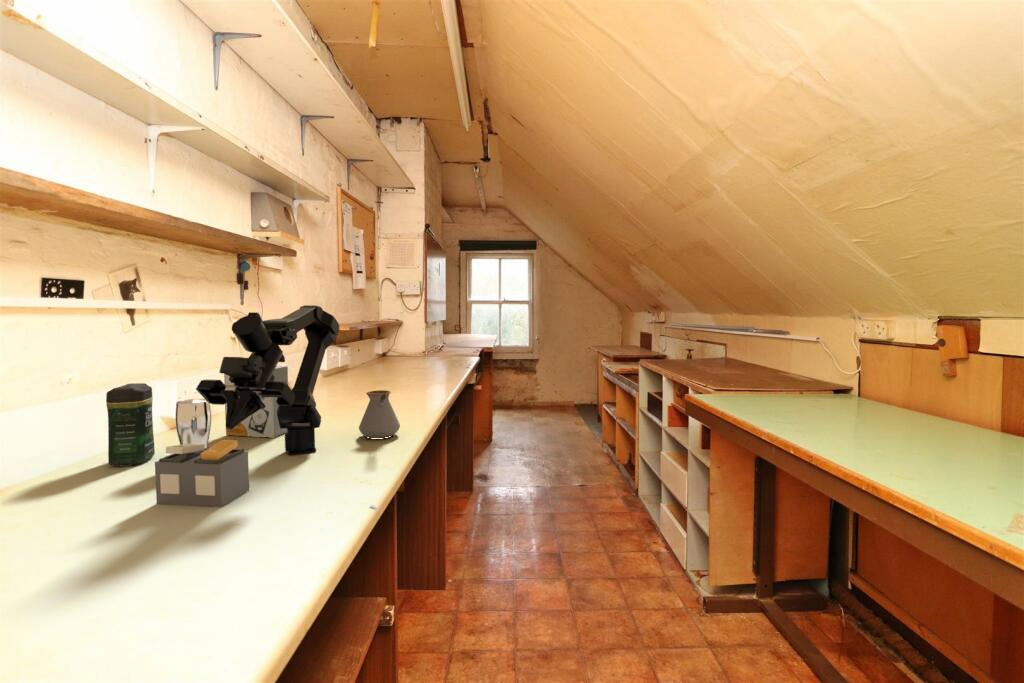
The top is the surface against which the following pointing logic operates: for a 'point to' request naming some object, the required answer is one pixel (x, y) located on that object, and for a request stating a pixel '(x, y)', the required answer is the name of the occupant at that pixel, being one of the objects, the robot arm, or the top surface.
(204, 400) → the beer glass
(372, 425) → the coffee pot
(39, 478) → the top surface
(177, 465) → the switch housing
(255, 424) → the hard drive box
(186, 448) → the white rocker
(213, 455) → the amber rocker
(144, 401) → the coffee jar
